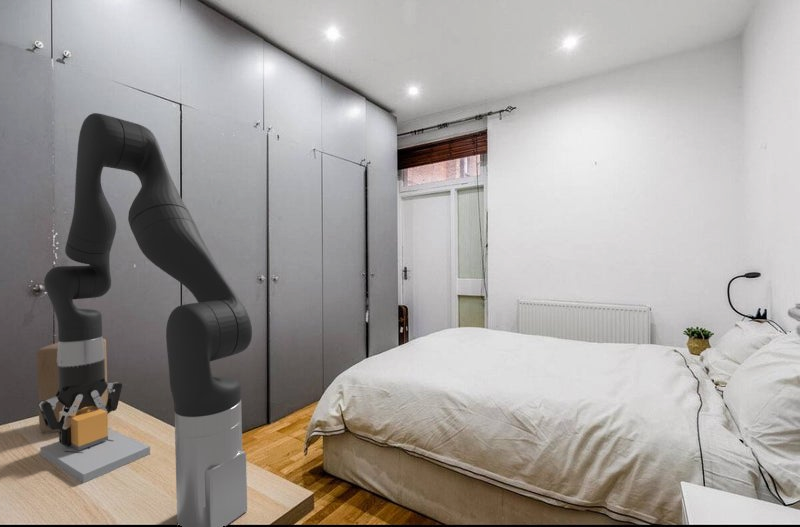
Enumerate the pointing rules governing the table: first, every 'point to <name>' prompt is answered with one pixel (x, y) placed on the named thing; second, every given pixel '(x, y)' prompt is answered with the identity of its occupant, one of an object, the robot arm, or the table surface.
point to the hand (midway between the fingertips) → (84, 438)
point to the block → (54, 381)
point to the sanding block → (88, 427)
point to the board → (96, 456)
